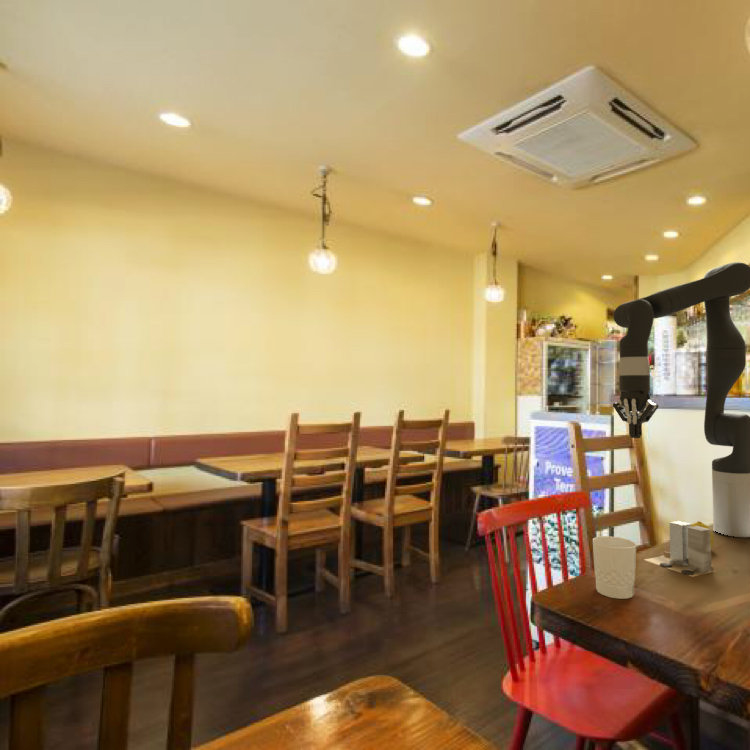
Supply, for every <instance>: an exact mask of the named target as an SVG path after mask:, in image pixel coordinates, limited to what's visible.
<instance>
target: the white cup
mask: <svg viewBox="0 0 750 750" xmlns="http://www.w3.org/2000/svg"><path fill="white" fill-rule="evenodd" d="M592 549H593V551H592V552H593V567H594V577H595V588H596V589H595V590H596V591H597V593H598V594H600V595H602V596H605V597H606V598H607V597H608V598H611V599H618V600H620V599H621V600H622V599H623V600H626V599H630V598H632V597H634V595H635V579H636V565H637V564H636V562H637V561H636V560H637V559H636V558H637V556H636V555H637V543H636V542H634V541H632V540H630V539H628V538H624V537H619V536H612V535H611V536H608V535H607V536H606V535H605V536H604V535H603V536H595V537H594V538H592Z"/></svg>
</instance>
